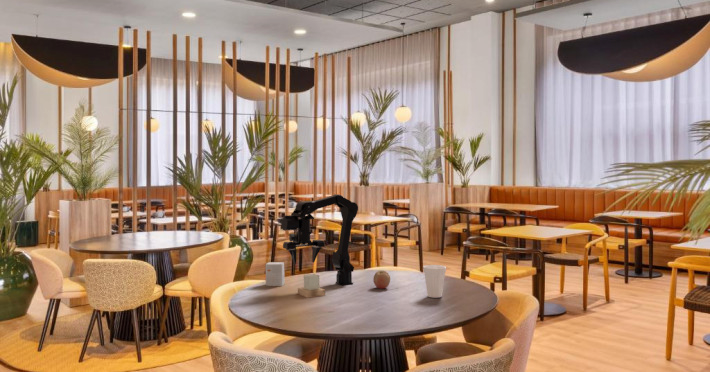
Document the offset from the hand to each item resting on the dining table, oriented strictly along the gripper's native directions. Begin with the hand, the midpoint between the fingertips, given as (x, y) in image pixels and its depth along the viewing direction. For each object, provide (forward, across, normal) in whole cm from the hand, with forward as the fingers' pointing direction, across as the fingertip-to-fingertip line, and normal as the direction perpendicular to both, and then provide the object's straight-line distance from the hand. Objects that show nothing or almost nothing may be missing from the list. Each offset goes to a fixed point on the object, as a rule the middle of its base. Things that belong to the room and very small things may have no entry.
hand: (304, 263), depth 270 cm
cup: (+12, -42, +43) cm, 61 cm away
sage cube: (+10, +2, +12) cm, 15 cm away
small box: (+12, +8, -16) cm, 22 cm away
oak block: (+12, +2, +12) cm, 17 cm away
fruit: (+12, -32, +16) cm, 38 cm away
